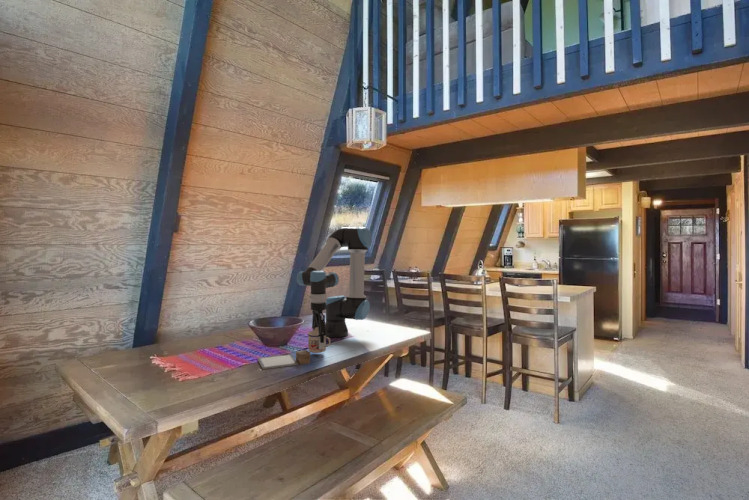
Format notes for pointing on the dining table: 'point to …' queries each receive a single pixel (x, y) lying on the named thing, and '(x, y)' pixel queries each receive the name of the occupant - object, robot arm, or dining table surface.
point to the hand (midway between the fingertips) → (318, 346)
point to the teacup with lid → (316, 341)
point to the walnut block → (303, 357)
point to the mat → (277, 361)
